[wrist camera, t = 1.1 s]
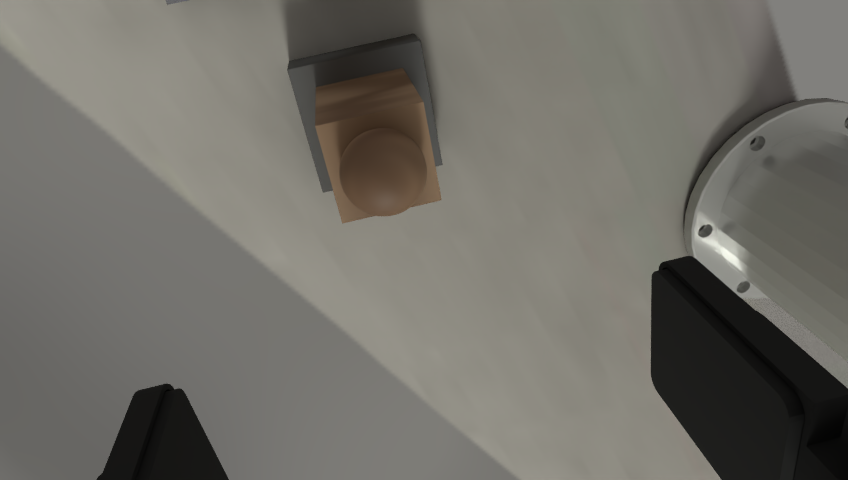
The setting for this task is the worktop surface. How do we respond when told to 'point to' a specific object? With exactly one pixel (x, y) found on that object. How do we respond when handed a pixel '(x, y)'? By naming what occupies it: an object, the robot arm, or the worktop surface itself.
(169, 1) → the ink pad
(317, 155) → the stamp
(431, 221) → the worktop surface
